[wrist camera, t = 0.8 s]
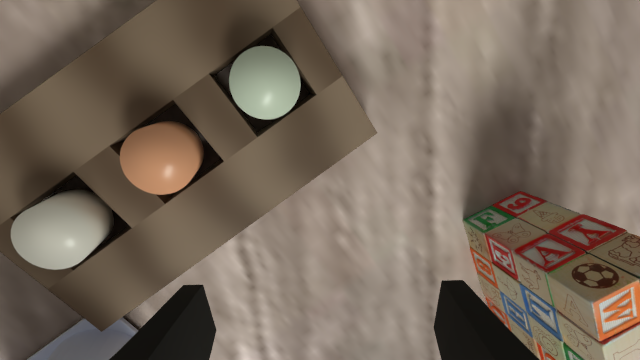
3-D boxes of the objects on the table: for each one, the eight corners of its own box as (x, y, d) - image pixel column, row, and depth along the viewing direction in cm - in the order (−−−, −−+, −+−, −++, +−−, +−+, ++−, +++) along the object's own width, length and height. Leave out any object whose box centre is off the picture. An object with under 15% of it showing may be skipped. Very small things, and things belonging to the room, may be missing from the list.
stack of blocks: (555, 350, 36) (698, 475, 24) (507, 376, 36) (629, 515, 24) (519, 188, 29) (693, 253, 18) (459, 218, 29) (596, 305, 17)
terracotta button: (168, 192, 22) (155, 207, 19) (124, 145, 20) (103, 153, 17) (216, 157, 22) (210, 167, 19) (175, 108, 20) (162, 111, 17)
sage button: (258, 127, 22) (258, 133, 19) (219, 76, 20) (213, 73, 17) (306, 92, 22) (314, 93, 19) (270, 39, 20) (272, 30, 17)
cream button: (79, 257, 22) (52, 282, 19) (29, 213, 20) (-8, 233, 18) (127, 222, 22) (107, 242, 19) (80, 177, 20) (51, 191, 18)
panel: (116, 308, 25) (100, 334, 22) (-51, 169, 20) (-95, 181, 18) (365, 128, 25) (378, 133, 22) (253, -52, 20) (253, -72, 18)
